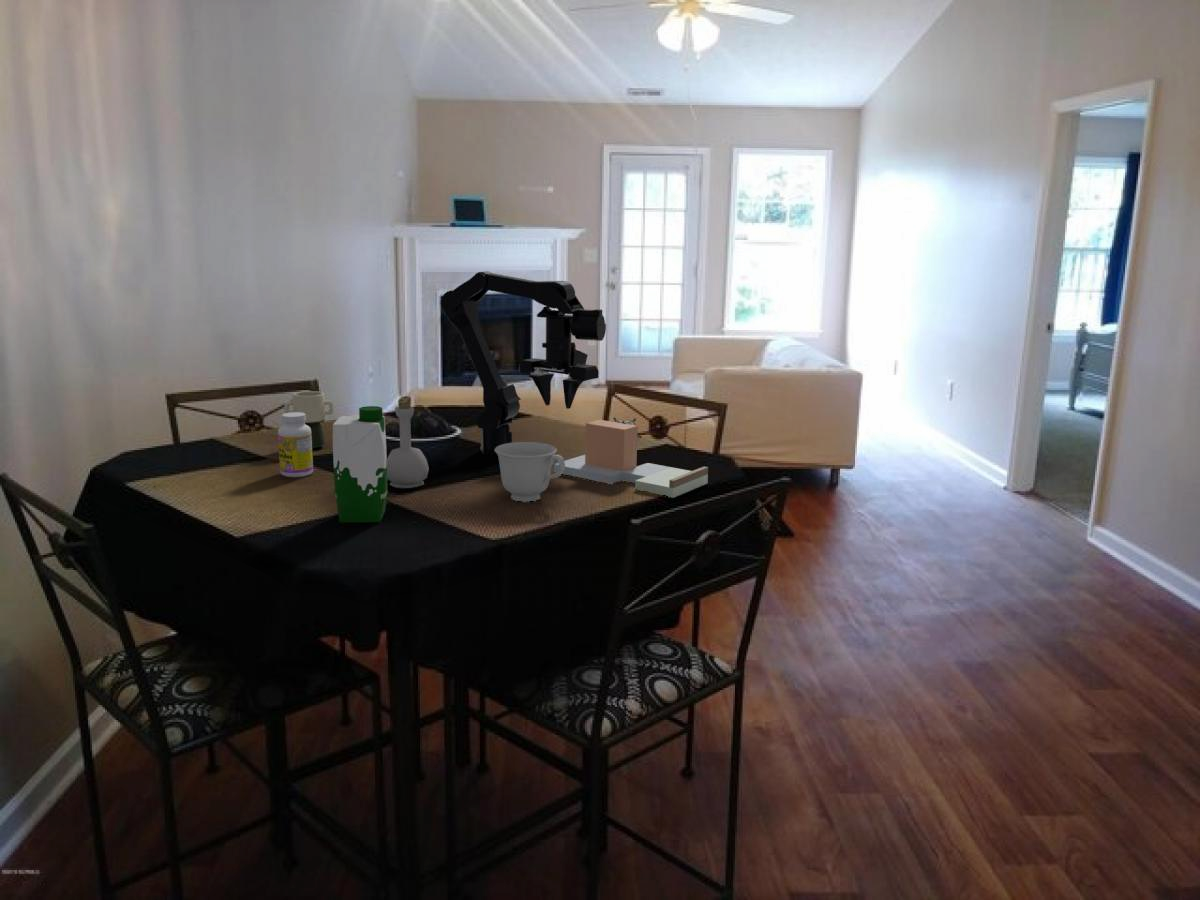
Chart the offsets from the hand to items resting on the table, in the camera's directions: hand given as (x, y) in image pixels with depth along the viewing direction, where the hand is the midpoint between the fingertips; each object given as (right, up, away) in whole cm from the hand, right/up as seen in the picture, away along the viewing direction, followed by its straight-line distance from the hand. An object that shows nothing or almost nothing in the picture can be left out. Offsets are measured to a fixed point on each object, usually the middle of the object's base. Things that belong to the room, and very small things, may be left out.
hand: (558, 406), depth 211 cm
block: (+12, -13, -11) cm, 21 cm away
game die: (+15, -10, +11) cm, 21 cm away
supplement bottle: (-54, -15, -15) cm, 58 cm away
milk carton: (-33, -22, -43) cm, 59 cm away
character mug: (-59, -9, +8) cm, 60 cm away
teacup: (-4, -20, -30) cm, 36 cm away
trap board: (+16, -16, -13) cm, 26 cm away
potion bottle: (-30, -17, -21) cm, 40 cm away
